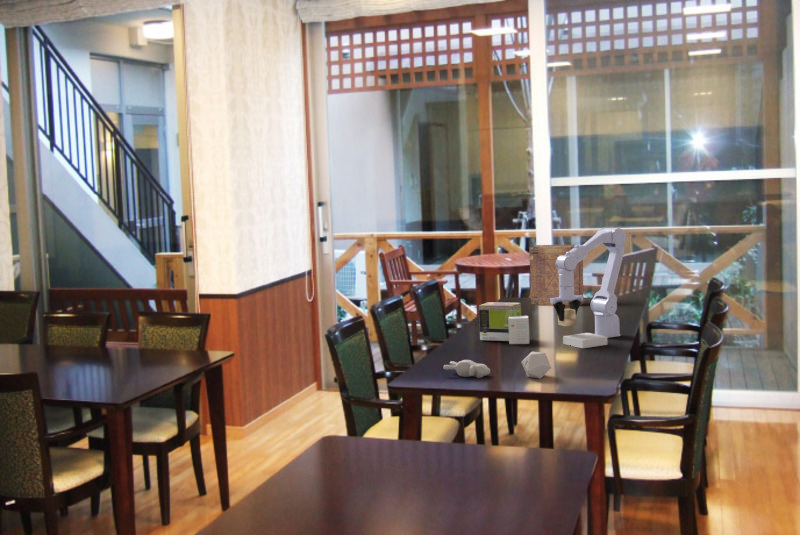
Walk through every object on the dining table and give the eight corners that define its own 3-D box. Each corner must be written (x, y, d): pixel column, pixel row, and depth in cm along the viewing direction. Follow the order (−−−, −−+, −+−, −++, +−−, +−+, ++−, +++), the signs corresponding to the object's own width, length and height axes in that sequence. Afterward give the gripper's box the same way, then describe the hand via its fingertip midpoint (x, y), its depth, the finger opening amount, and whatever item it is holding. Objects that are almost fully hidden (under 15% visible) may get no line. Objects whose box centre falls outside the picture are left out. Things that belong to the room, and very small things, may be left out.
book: (530, 305, 451) (528, 246, 448) (534, 302, 460) (533, 245, 457) (580, 306, 442) (579, 246, 439) (583, 303, 450) (582, 244, 447)
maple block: (568, 323, 353) (567, 308, 352) (576, 324, 348) (575, 309, 348) (558, 324, 351) (557, 309, 350) (565, 326, 346) (565, 311, 346)
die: (525, 375, 299) (513, 355, 294) (547, 361, 299) (536, 340, 294) (535, 389, 292) (524, 368, 287) (558, 374, 292) (547, 354, 287)
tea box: (522, 337, 363) (521, 302, 361) (514, 342, 354) (512, 305, 352) (488, 336, 370) (487, 301, 368) (479, 340, 361) (478, 304, 360)
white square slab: (587, 340, 352) (587, 332, 352) (607, 344, 342) (607, 336, 341) (563, 343, 347) (563, 336, 347) (582, 348, 336) (582, 340, 336)
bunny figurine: (483, 368, 291) (441, 360, 298) (482, 383, 292) (440, 375, 298) (493, 362, 300) (452, 355, 306) (492, 377, 301) (451, 369, 307)
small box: (529, 341, 355) (528, 315, 354) (529, 344, 349) (528, 317, 348) (509, 341, 356) (508, 315, 355) (508, 344, 350) (508, 318, 349)
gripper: (575, 283, 354) (576, 316, 356) (545, 286, 348) (546, 320, 349) (586, 284, 348) (587, 319, 349) (555, 288, 342) (556, 323, 343)
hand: (567, 320), depth 349 cm, fingers closed on maple block, 5 cm apart
